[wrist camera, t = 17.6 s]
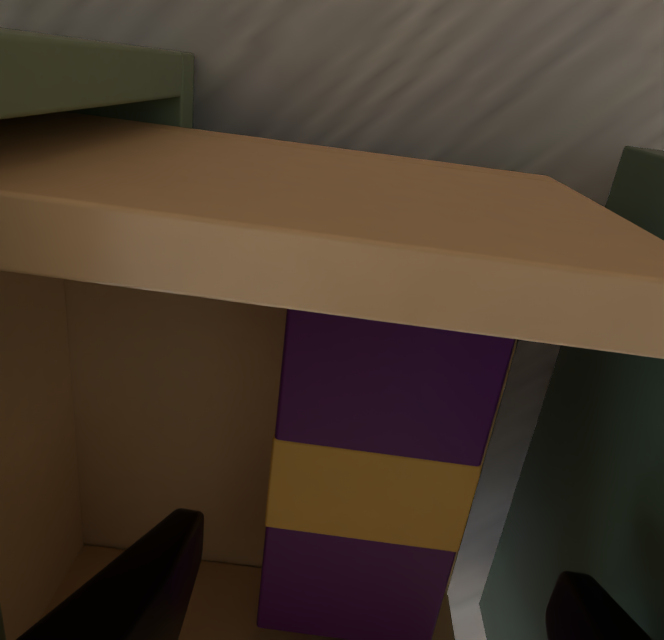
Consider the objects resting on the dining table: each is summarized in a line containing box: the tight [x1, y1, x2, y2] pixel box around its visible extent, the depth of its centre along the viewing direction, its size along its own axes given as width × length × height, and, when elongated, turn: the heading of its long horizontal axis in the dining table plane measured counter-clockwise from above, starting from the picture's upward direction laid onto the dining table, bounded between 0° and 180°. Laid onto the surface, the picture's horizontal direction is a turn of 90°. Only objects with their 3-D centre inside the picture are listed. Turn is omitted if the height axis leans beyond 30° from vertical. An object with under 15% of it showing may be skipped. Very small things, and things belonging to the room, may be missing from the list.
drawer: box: [0, 112, 664, 640], centre depth 10 cm, size 17×12×7 cm
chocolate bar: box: [256, 309, 516, 640], centre depth 11 cm, size 8×4×2 cm, turn 173°
